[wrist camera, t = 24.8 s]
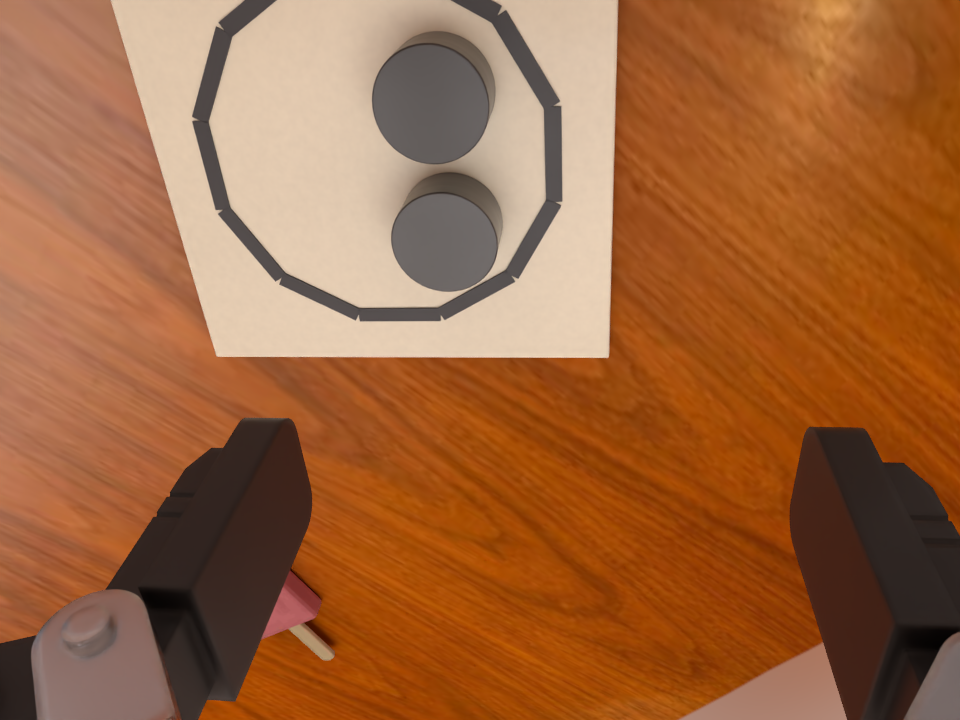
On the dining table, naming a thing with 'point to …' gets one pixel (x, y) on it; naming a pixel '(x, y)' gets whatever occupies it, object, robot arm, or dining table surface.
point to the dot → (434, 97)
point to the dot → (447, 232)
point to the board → (378, 173)
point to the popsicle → (298, 615)
